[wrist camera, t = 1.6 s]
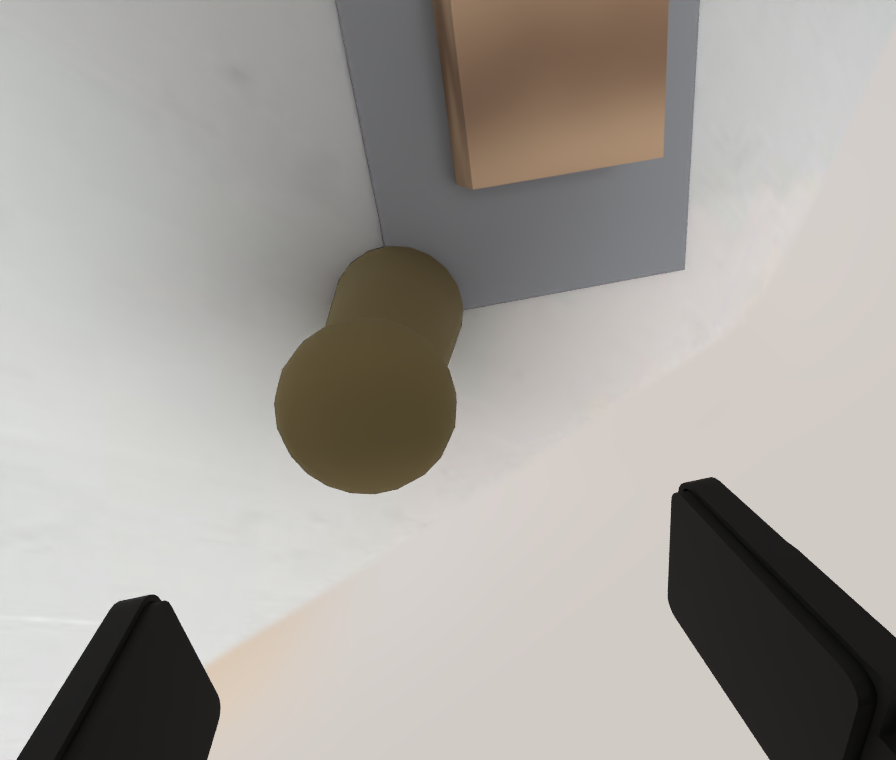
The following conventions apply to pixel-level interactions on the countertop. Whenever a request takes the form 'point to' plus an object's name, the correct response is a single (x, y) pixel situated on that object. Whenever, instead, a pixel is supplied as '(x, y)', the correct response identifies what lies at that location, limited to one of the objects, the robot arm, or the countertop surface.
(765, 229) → the countertop surface
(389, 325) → the olive green rounded piece
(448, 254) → the mat
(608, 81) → the walnut block
